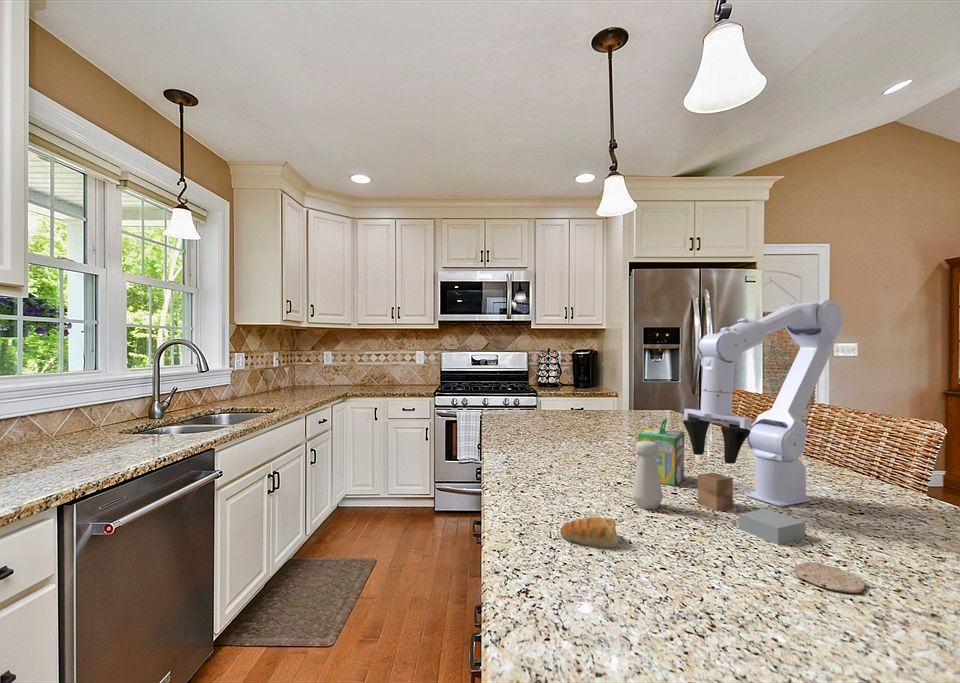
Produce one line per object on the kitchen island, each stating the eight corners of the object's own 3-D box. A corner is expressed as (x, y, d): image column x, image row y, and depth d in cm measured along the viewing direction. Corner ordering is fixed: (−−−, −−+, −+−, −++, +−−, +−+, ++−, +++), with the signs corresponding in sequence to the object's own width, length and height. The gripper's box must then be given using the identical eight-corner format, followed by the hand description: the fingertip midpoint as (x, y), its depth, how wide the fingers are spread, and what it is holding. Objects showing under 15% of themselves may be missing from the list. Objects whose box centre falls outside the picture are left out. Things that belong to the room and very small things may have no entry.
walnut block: (713, 501, 97) (713, 472, 97) (732, 508, 93) (732, 478, 93) (697, 503, 95) (697, 474, 95) (716, 511, 91) (716, 480, 91)
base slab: (765, 525, 85) (765, 508, 85) (805, 539, 78) (805, 521, 78) (738, 531, 82) (738, 514, 82) (778, 546, 75) (777, 528, 75)
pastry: (559, 546, 75) (559, 522, 75) (560, 530, 82) (560, 508, 82) (619, 551, 74) (619, 526, 74) (615, 534, 80) (615, 512, 80)
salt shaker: (665, 512, 90) (664, 445, 91) (634, 510, 91) (634, 444, 92) (659, 502, 96) (659, 439, 96) (630, 500, 97) (630, 438, 97)
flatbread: (782, 573, 66) (781, 566, 66) (815, 563, 69) (815, 556, 69) (845, 602, 59) (845, 594, 59) (879, 589, 62) (879, 581, 62)
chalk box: (647, 472, 120) (647, 414, 120) (685, 478, 114) (685, 417, 114) (636, 480, 112) (635, 419, 112) (676, 487, 107) (676, 422, 107)
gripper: (674, 387, 100) (671, 451, 99) (734, 394, 86) (730, 467, 86) (699, 389, 102) (695, 450, 102) (760, 395, 89) (757, 466, 88)
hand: (713, 458), depth 94 cm, fingers open, 7 cm apart
